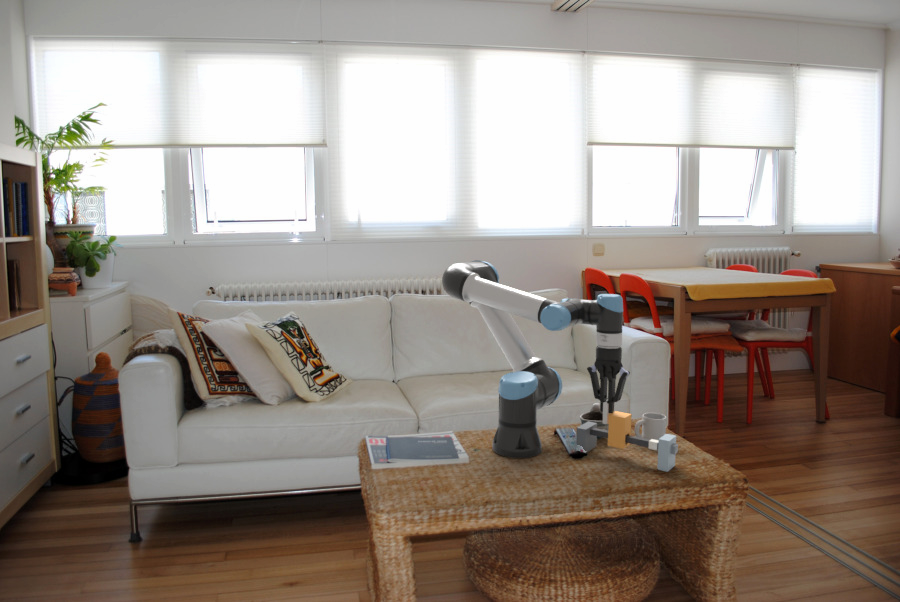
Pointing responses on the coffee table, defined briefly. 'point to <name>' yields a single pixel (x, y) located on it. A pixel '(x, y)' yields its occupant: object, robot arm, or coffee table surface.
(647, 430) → the cup
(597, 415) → the mug
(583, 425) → the rail rig
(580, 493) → the coffee table surface
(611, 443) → the orange sliding sleeve
